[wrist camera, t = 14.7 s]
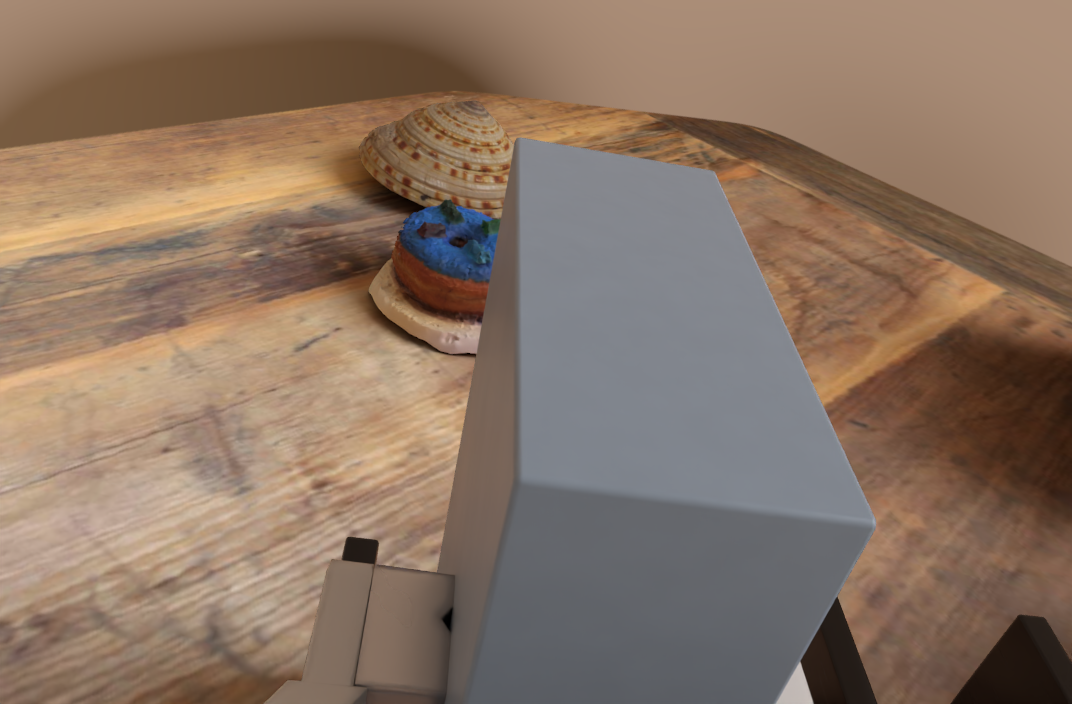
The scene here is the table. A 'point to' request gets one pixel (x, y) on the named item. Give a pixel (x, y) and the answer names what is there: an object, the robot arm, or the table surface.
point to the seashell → (443, 157)
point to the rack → (842, 684)
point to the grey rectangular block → (638, 453)
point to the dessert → (440, 276)
